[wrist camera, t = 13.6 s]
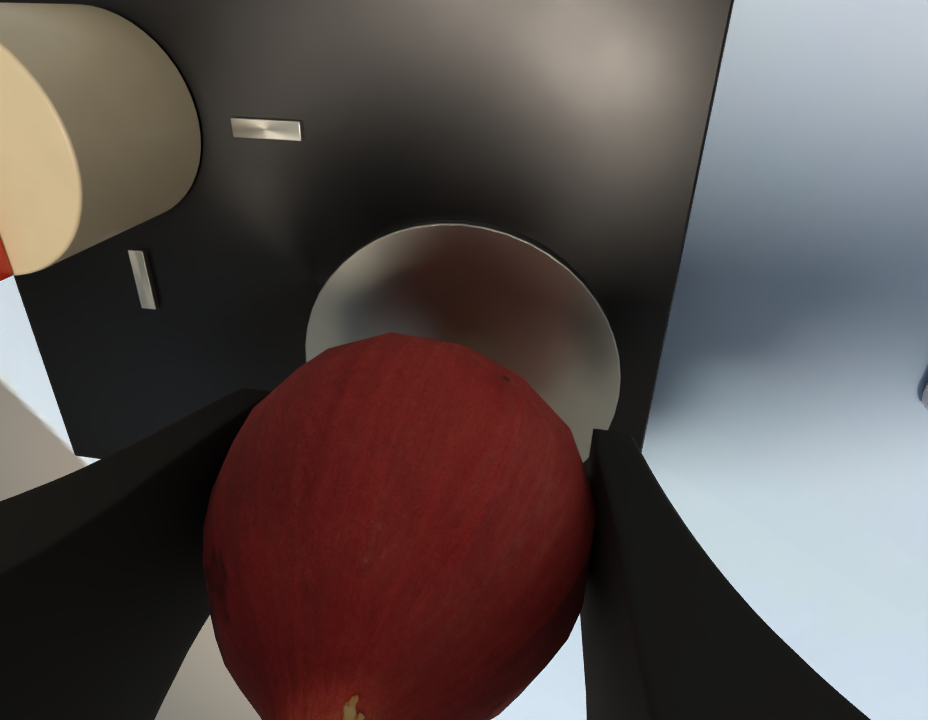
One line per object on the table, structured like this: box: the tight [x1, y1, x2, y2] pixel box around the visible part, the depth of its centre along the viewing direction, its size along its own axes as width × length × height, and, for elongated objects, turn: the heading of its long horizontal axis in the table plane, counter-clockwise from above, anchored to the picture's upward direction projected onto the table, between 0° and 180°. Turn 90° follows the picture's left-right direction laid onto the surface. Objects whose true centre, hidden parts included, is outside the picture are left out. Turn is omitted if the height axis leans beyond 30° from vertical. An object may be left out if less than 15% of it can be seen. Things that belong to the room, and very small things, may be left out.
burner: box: [305, 220, 621, 462], centre depth 14 cm, size 7×7×1 cm
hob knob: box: [0, 3, 201, 281], centre depth 11 cm, size 4×4×4 cm
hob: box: [0, 0, 734, 472], centre depth 14 cm, size 16×13×3 cm
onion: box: [203, 332, 596, 720], centre depth 10 cm, size 6×6×8 cm
